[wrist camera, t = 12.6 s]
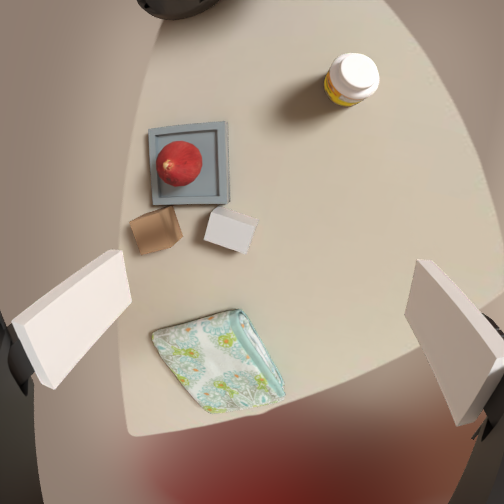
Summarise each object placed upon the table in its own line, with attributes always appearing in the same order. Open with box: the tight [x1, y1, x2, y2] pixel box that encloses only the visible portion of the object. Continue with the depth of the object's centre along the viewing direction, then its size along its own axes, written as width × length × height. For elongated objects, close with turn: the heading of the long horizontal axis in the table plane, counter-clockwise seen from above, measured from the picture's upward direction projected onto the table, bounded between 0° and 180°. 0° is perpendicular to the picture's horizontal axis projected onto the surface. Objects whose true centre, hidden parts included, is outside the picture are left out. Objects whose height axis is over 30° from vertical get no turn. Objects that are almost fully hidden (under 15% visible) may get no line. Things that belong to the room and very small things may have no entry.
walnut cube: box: [129, 205, 183, 255], centre depth 41 cm, size 5×5×5 cm
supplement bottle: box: [324, 53, 379, 107], centre depth 28 cm, size 6×6×10 cm
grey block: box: [204, 206, 259, 254], centre depth 40 cm, size 4×6×4 cm, turn 72°
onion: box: [156, 141, 203, 187], centre depth 35 cm, size 6×6×8 cm
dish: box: [148, 121, 230, 205], centre depth 38 cm, size 11×11×2 cm
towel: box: [152, 309, 286, 414], centre depth 49 cm, size 18×21×5 cm
